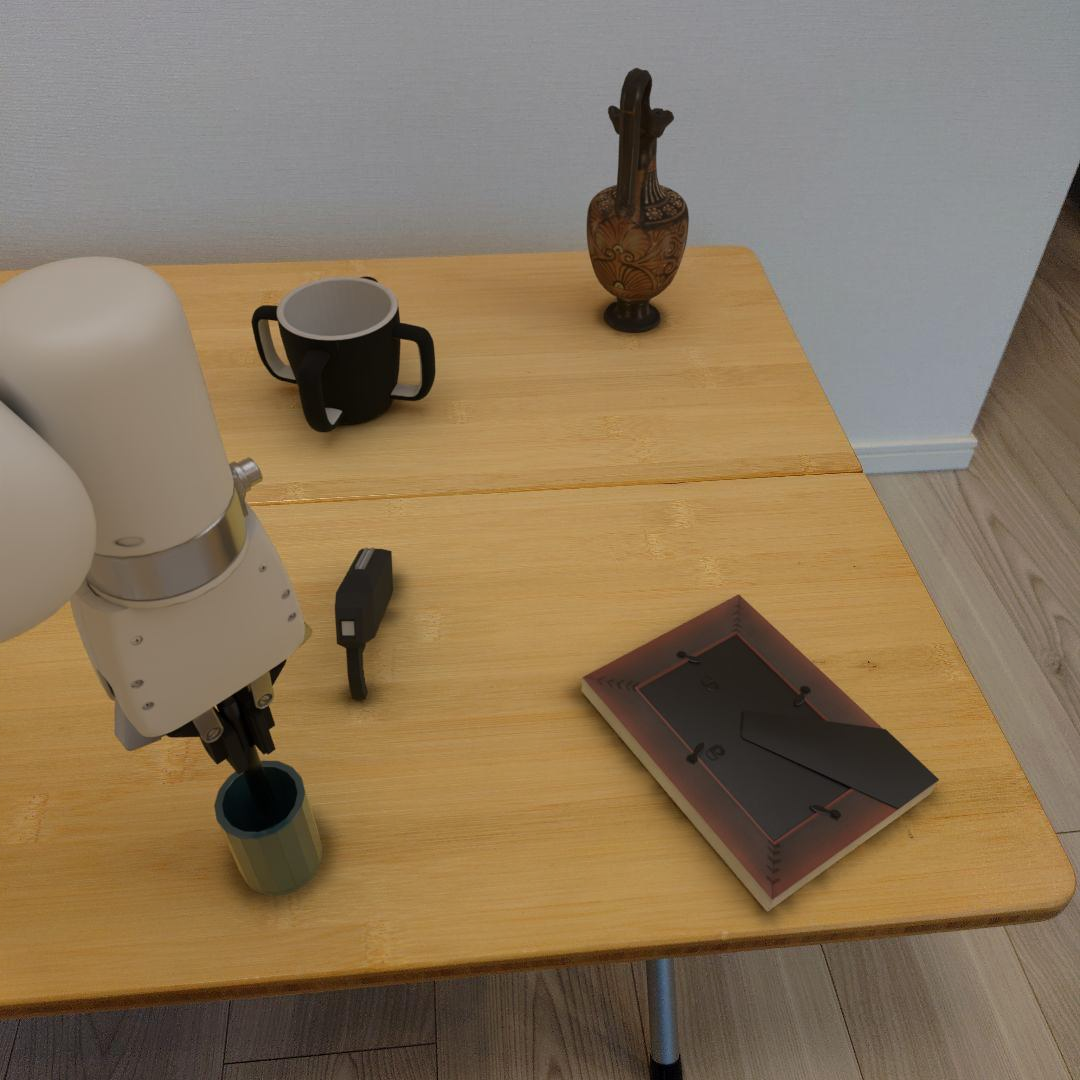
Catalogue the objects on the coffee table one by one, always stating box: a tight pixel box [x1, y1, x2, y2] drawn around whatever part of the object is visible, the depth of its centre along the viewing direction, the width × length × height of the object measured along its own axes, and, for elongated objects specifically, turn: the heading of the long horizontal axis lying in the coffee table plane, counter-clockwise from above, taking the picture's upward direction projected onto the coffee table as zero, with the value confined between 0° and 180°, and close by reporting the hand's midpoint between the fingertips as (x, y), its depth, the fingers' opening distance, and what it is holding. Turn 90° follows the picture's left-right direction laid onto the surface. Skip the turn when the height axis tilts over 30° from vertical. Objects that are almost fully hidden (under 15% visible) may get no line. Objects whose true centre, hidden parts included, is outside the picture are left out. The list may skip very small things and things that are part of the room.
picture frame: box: [581, 594, 940, 913], centre depth 73 cm, size 16×2×22 cm
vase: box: [586, 67, 690, 333], centre depth 106 cm, size 12×12×30 cm
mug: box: [250, 275, 436, 434], centre depth 100 cm, size 16×16×12 cm
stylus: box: [215, 693, 277, 816], centre depth 57 cm, size 1×1×13 cm
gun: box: [334, 547, 394, 700], centre depth 79 cm, size 3×16×10 cm, turn 0°
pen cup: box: [213, 760, 323, 897], centre depth 63 cm, size 6×6×8 cm
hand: (243, 746), depth 57 cm, fingers closed on stylus, 1 cm apart
